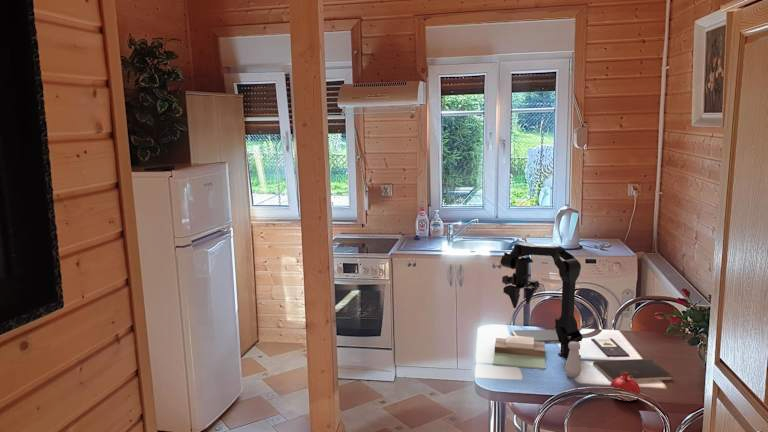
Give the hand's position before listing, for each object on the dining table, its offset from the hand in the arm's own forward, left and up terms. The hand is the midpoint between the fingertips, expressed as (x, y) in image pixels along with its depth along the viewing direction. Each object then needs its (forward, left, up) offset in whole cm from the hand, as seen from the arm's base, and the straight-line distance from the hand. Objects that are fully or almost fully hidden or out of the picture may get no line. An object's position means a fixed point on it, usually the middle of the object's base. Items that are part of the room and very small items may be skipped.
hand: (521, 305), depth 260 cm
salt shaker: (-40, +12, -14) cm, 44 cm away
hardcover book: (-50, -9, -15) cm, 53 cm away
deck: (-12, +12, -14) cm, 22 cm away
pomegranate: (-62, +11, -14) cm, 64 cm away
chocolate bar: (-30, -22, -15) cm, 40 cm away
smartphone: (-7, -8, -15) cm, 18 cm away
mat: (-19, +19, -14) cm, 31 cm away
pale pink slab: (-12, +12, -11) cm, 21 cm away
